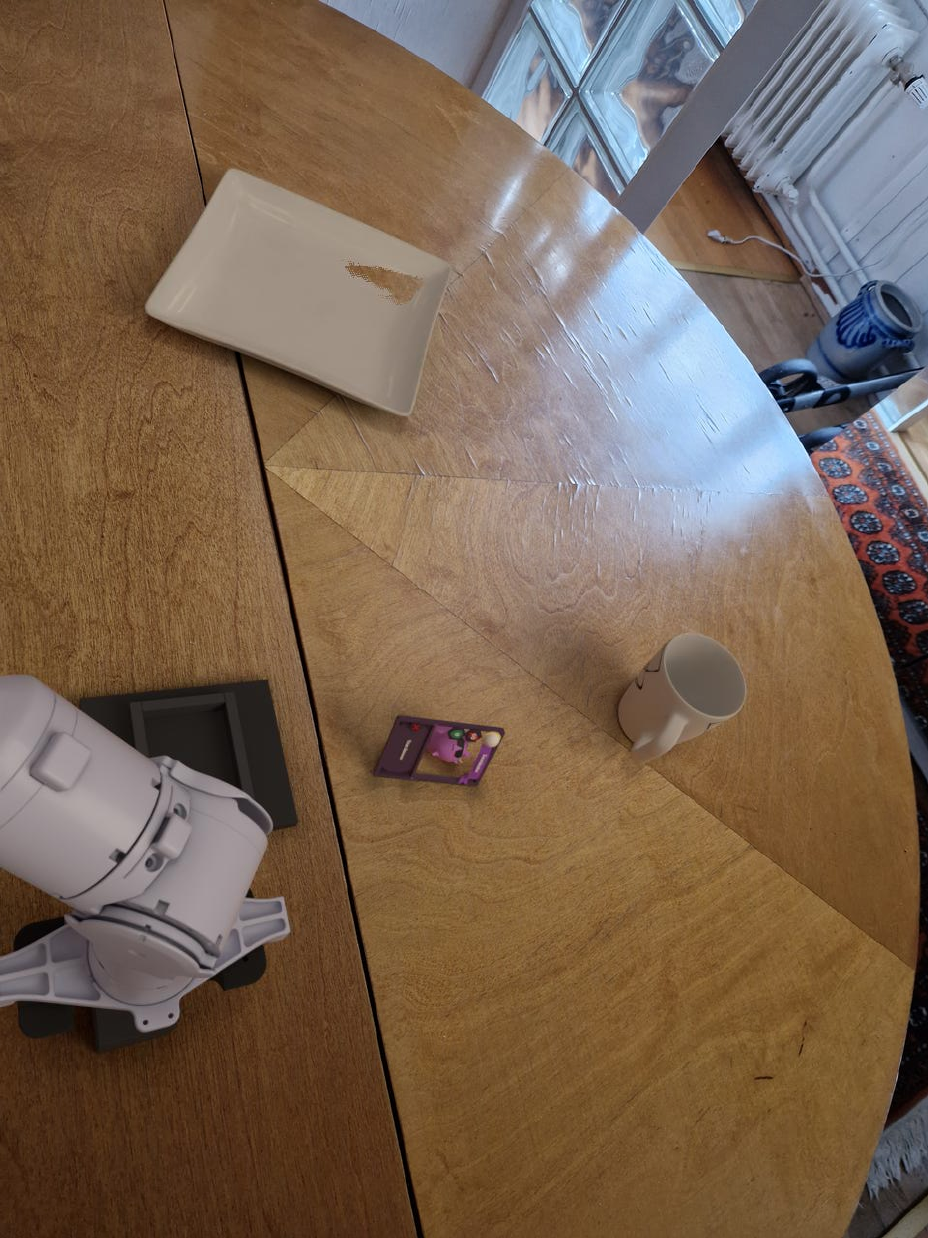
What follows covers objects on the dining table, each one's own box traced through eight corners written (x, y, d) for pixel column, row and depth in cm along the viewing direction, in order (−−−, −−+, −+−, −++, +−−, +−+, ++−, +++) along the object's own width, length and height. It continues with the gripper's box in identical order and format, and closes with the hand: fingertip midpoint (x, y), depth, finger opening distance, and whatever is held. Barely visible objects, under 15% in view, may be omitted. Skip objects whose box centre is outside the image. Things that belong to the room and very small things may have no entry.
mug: (657, 805, 81) (722, 764, 73) (581, 751, 80) (638, 704, 73) (694, 715, 88) (757, 668, 80) (624, 665, 88) (680, 614, 80)
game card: (399, 725, 67) (507, 738, 70) (391, 678, 71) (495, 692, 74) (374, 783, 71) (479, 793, 74) (369, 735, 75) (468, 746, 78)
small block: (95, 1054, 55) (98, 1047, 52) (86, 956, 58) (87, 943, 55) (170, 1034, 57) (177, 1025, 54) (158, 940, 60) (164, 926, 57)
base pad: (96, 862, 61) (98, 851, 59) (78, 703, 66) (79, 689, 64) (295, 826, 67) (302, 815, 65) (265, 684, 72) (271, 670, 70)
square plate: (444, 286, 107) (456, 260, 104) (399, 442, 92) (411, 416, 89) (225, 188, 102) (230, 157, 99) (137, 337, 86) (140, 305, 83)
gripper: (-13, 1061, 37) (3, 1089, 48) (321, 974, 44) (269, 1015, 54) (-22, 893, 40) (-5, 954, 51) (292, 835, 47) (248, 900, 57)
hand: (136, 978), depth 53 cm, fingers open, 7 cm apart
